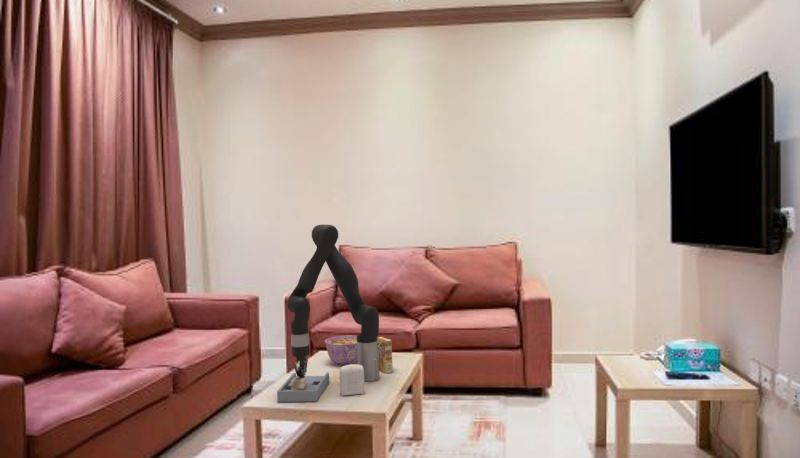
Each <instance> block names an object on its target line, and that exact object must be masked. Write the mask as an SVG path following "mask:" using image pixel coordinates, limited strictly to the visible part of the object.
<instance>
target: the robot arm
mask: <svg viewBox="0 0 800 458" xmlns="http://www.w3.org/2000/svg"><path fill="white" fill-rule="evenodd" d="M311 239H312V241H313V243H314V244H315V246H316V249H315V251H314V253H313V255H312V257H311V258H310V260H309V261H308V262H307V264H306V265H305V266H304V268H303V270H302V271H301V275H300V276H299V280H298V281H297V284H296V286H295V288H294V289H293V291H292V293H291V294H290V295H289V297H288V300H287V308H288V311H290V312H291V313H294V319H291V322H290V330H291V331H290V333H291V337H290V344H291V345H290V346H291V347H290V349H291V356H292V357H293V358H294V357H295V358H296V360H295V361H294V363H295V365H296V366H294V372H295V373H296V376H298V377H299V378H305V376H306V374H307V370H308V362H309V360H308V358H307V357H308V356H309V355H310V354H311V347H310V346H311V345H310V335H309V323H308V322H309V320H310V319H309V318H310V313H311V305H310V301H309V300H308V299H307V296H308V295H309V294H311V293H312V292H313V291H314V290H315V286H316V284H317V281H318V278H319V276H320V274H321V271H322V269H323V268H324V265H325V263H326V265H327V267H328V269H329V271H330V272H331V274H332V277H333V279H334V281H335V284H337V287H338V288H339V290H340V292H341V294H342V296H343V298H344V299H345V302H346V304H347V306H348V309H349V311H350V314H351V316H352V319H353V321H354V323H356V324H357V325H360V326H361V327H360V328H361V332H360V333H358V334H357V335H356V336H357V357H358V360H357V365H362V366H363V369H364V382H374V381H378V380H379V379H380V371H379V356H378V345H377V338H378V337H379V333H380V314H379V311H378V309H377V308H376V307H374V306H372V305H367V304H366V303H365V301H364V300H363V298H362V296H361V294H360V289H359V280H358V277H357V274H356V272H355V270H354V268H353V267H352V264H351V263H350V262H349V261H348V259H346V258H345V257H344V255H343V254H342V253H341V252H340V251H339V250H338V248H337V246H336V244H337V241H338V239H339V231H338V229H337V227H336V226H335V225H332V224H317V225H315V226H314V227H313V228H312V230H311Z"/></svg>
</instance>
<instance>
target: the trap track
mask: <svg viewBox="0 0 800 458" xmlns="http://www.w3.org/2000/svg"><path fill="white" fill-rule="evenodd" d="M294 378H299V377H298V376H297V374H296V372H293V373H292V374H291V375H290V376H289V377H288V378H287V380H286V381H285V382H284V383H283V384H282V385H281V386H280V387H279V388H278V390H277V391H276V396H277V400H276V401H277V403H317V402H318V401H319V399H320V398H321V396H322V394H323V393H324V392H325V390H326V388H327V387H328V385H329V383H330V373H329V372H326V373H325V374H324V375H305V378H306V386H307V390H305V391H291V381H292V380H293V379H294Z"/></svg>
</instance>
